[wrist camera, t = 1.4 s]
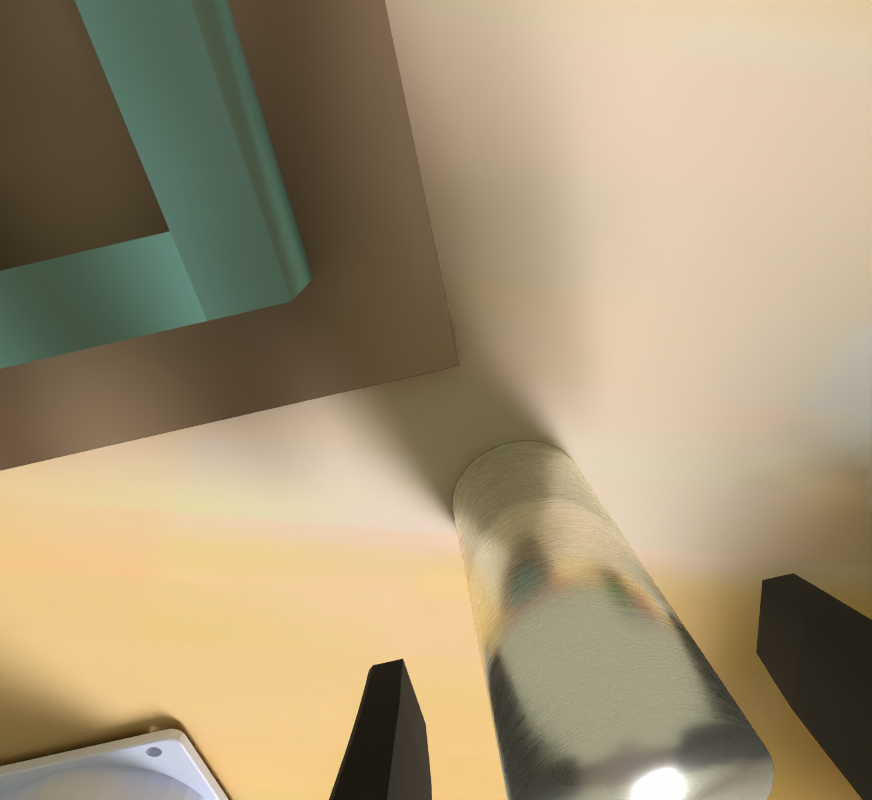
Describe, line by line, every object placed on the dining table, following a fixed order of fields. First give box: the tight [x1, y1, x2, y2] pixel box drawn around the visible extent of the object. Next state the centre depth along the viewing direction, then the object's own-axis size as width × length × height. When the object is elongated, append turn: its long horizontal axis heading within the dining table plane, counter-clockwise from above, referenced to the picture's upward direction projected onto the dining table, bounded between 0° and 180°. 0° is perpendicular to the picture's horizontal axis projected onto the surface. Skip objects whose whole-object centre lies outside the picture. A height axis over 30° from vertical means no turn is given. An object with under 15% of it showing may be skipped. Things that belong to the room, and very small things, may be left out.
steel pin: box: [453, 441, 774, 800], centre depth 11 cm, size 4×4×8 cm
